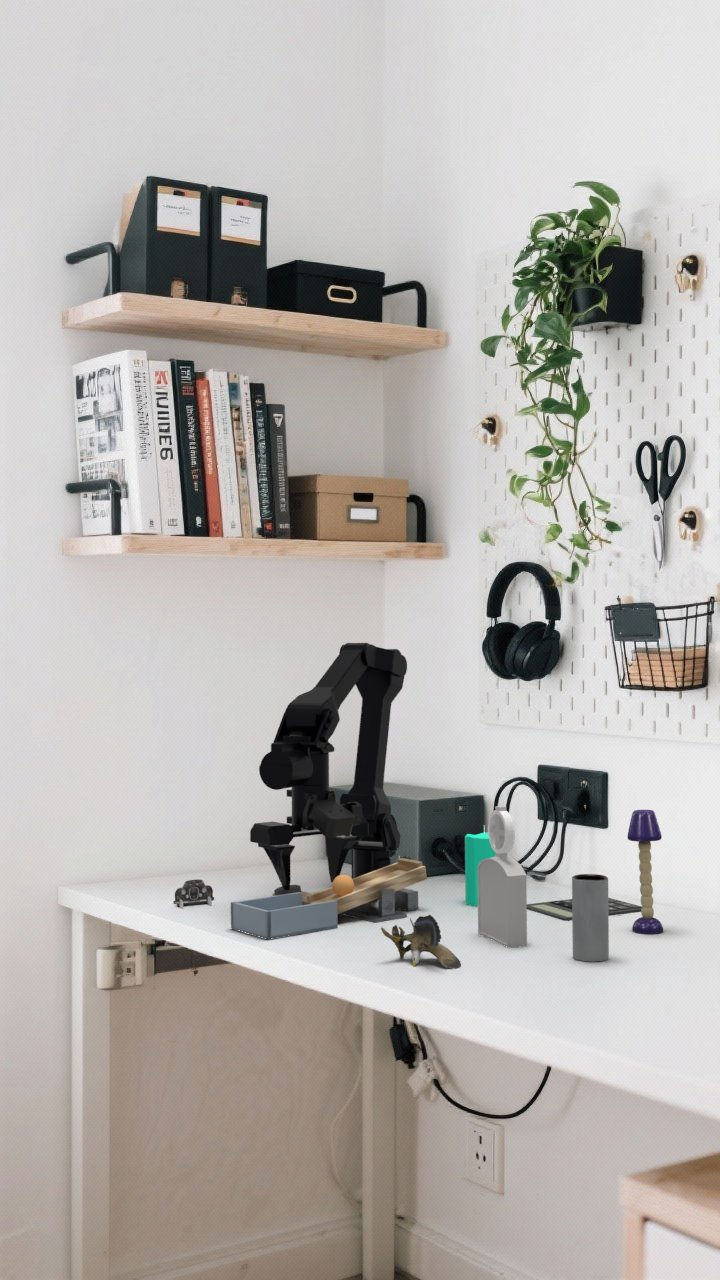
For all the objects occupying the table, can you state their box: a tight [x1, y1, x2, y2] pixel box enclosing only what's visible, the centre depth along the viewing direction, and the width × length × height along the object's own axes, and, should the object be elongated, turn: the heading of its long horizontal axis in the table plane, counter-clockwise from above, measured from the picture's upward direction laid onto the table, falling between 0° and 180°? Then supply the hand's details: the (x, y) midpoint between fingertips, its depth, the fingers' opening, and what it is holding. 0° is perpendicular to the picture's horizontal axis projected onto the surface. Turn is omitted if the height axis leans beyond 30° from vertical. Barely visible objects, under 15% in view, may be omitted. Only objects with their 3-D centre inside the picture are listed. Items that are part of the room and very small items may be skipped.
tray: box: [230, 892, 338, 940], centre depth 194 cm, size 9×12×4 cm
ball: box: [331, 874, 354, 897], centre depth 201 cm, size 3×3×3 cm
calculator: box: [527, 897, 642, 922], centre depth 206 cm, size 12×1×15 cm
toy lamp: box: [627, 809, 664, 935], centre depth 191 cm, size 5×5×17 cm
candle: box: [464, 824, 496, 907], centre depth 212 cm, size 6×6×12 cm
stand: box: [339, 887, 419, 923], centre depth 205 cm, size 11×10×4 cm
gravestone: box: [477, 805, 528, 948], centre depth 186 cm, size 3×9×18 cm, turn 20°
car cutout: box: [172, 878, 215, 910], centre depth 213 cm, size 15×7×4 cm, turn 117°
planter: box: [571, 873, 610, 963], centre depth 175 cm, size 4×4×10 cm
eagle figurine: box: [380, 914, 462, 970], centre depth 173 cm, size 8×7×9 cm
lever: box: [271, 857, 428, 915], centre depth 207 cm, size 18×15×3 cm
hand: (310, 886), depth 210 cm, fingers open, 9 cm apart
